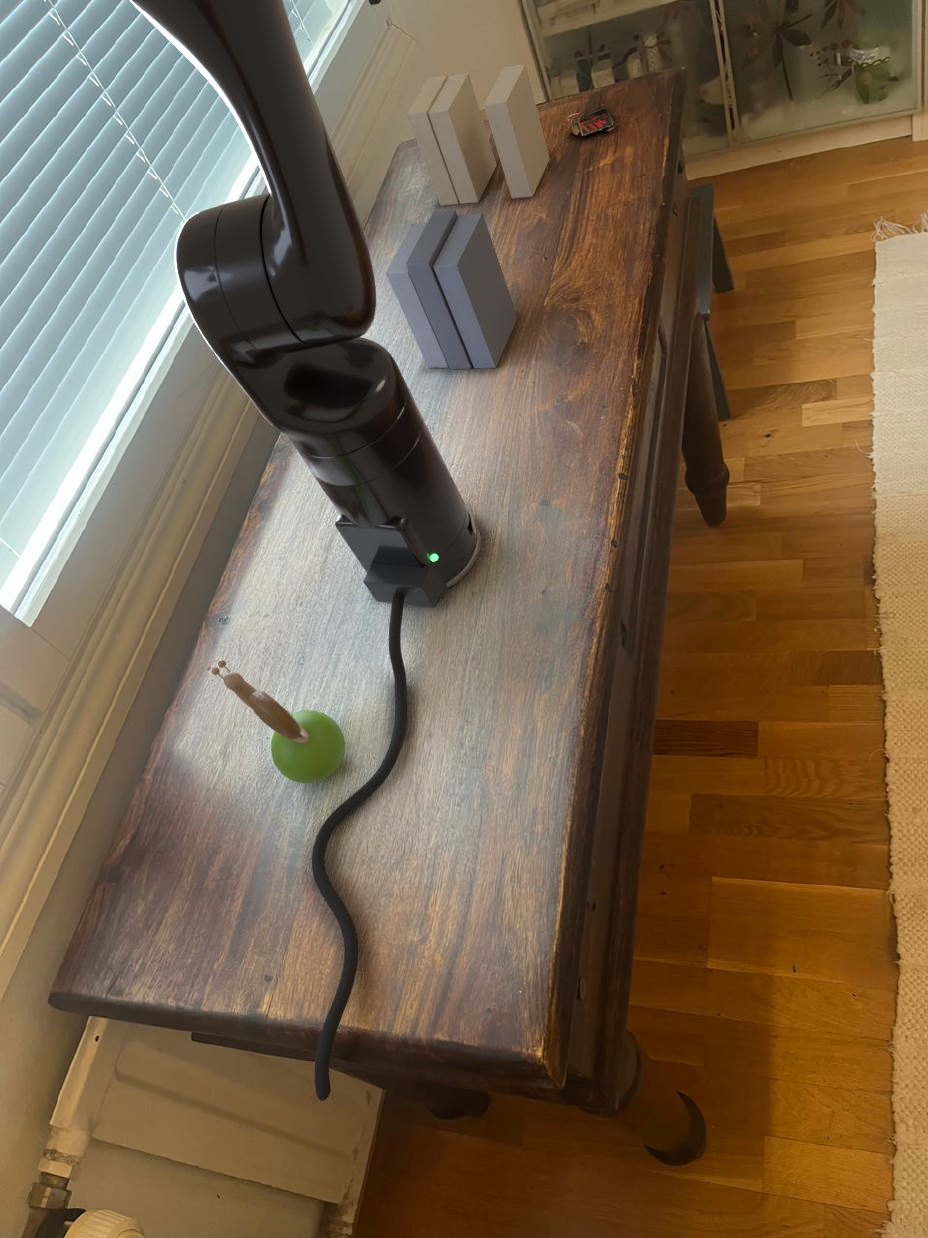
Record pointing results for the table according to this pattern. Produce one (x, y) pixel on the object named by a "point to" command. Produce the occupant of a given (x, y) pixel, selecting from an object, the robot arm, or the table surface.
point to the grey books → (453, 291)
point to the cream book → (517, 131)
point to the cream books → (452, 139)
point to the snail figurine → (293, 733)
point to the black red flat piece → (593, 122)
